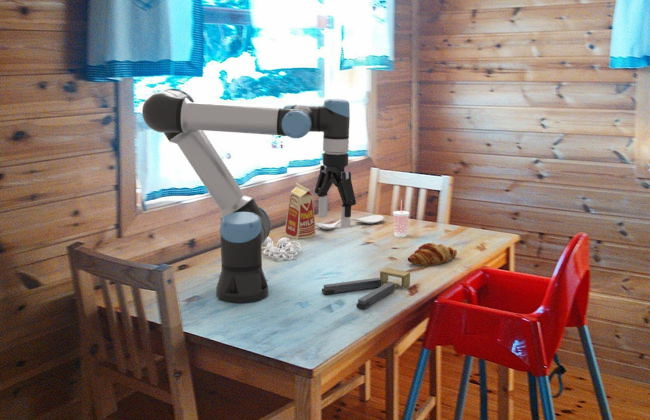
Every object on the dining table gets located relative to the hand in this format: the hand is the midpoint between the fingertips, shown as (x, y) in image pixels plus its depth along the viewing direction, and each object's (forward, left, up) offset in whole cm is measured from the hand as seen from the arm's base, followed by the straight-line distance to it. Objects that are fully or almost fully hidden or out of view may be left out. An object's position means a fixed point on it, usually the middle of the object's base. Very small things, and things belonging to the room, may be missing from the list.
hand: (333, 222), depth 222 cm
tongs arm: (+2, -9, -19) cm, 21 cm away
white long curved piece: (+39, +60, -20) cm, 74 cm away
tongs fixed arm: (+5, -17, -19) cm, 26 cm away
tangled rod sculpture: (-1, +37, -20) cm, 42 cm away
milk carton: (+15, +55, -19) cm, 60 cm away
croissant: (+40, +4, -20) cm, 45 cm away
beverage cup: (+49, +38, -19) cm, 65 cm away
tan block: (+16, -10, -19) cm, 27 cm away
